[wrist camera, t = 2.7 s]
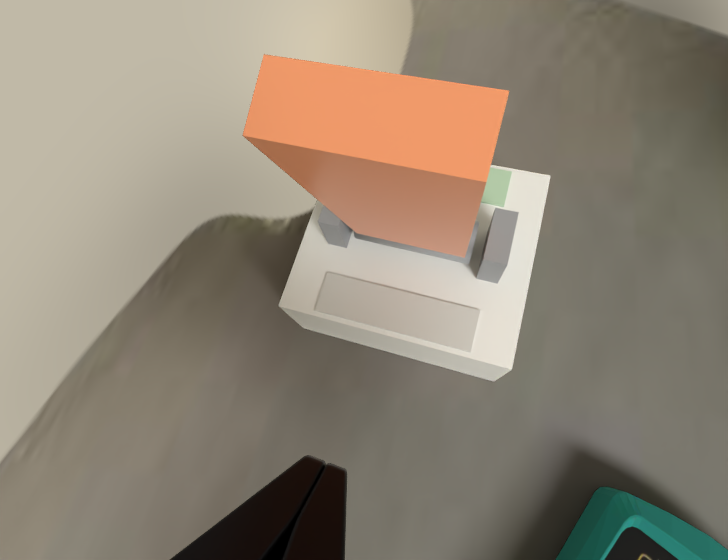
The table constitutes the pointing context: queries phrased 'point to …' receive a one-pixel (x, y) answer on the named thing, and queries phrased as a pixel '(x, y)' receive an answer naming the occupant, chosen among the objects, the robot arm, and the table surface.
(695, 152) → the table surface
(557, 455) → the table surface
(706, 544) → the digital multimeter
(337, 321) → the switch base
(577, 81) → the table surface
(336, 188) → the lever
